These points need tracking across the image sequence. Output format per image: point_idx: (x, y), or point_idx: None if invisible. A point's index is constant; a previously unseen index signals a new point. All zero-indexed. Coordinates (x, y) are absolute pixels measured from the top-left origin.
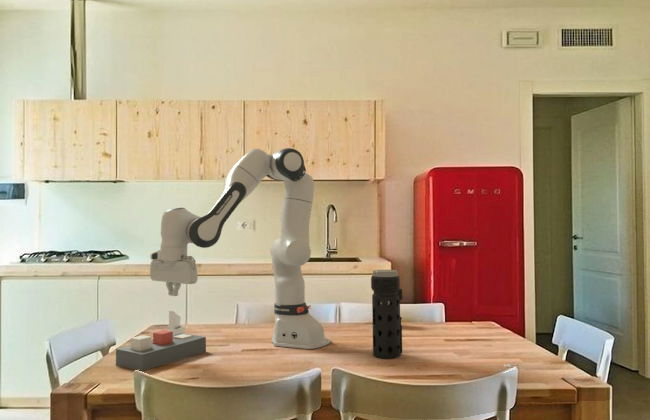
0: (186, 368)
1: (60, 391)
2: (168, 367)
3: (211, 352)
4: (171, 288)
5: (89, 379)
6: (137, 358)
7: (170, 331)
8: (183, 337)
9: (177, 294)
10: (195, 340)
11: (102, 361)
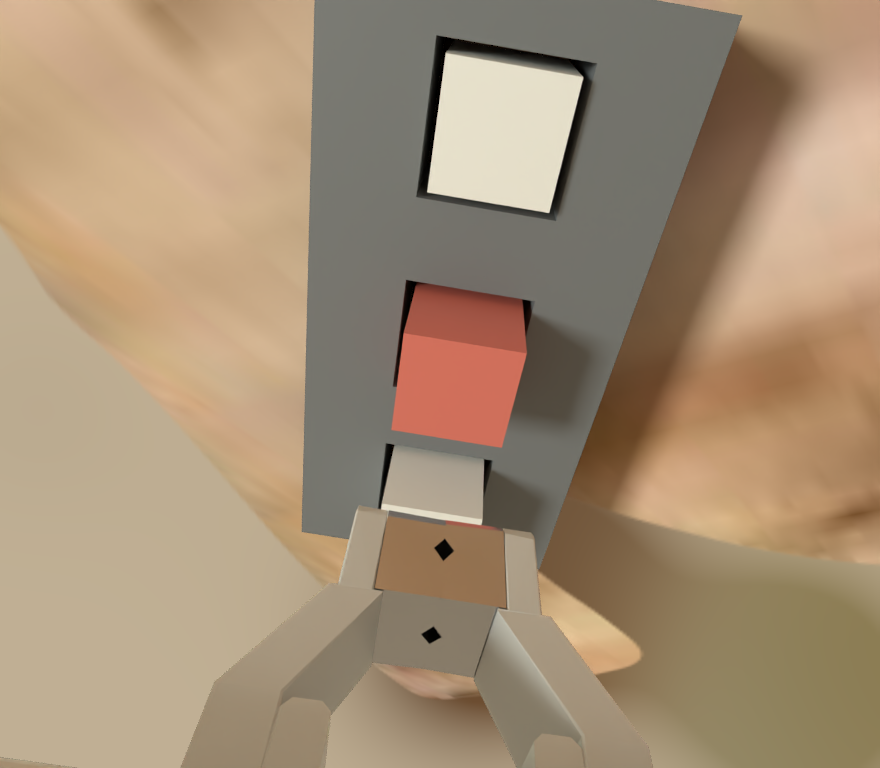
0: (746, 415)
1: (423, 692)
2: (629, 429)
3: (764, 15)
4: (353, 657)
5: None
6: None
7: (506, 358)
8: (547, 190)
9: (530, 554)
10: (681, 171)
11: (202, 446)
